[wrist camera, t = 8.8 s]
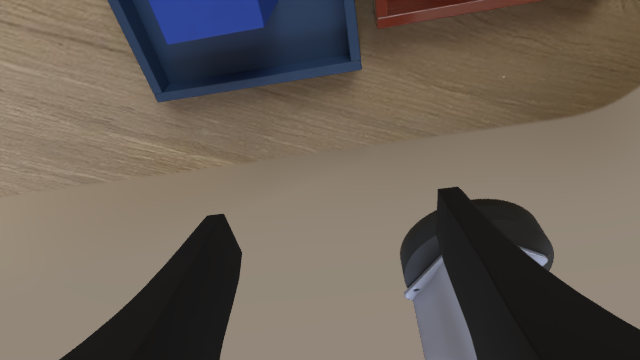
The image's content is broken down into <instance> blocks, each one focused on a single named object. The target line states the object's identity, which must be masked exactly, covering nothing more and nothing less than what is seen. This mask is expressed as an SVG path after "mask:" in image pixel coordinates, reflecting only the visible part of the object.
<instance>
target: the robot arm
mask: <svg viewBox="0 0 640 360" xmlns="http://www.w3.org/2000/svg"><path fill="white" fill-rule="evenodd" d="M436 234H437V238H438V242H439V246H440V251H441V255H440V256H439V257H438V258H437V259H436V260H435V261H434V262H433V263H432V264H431V265H430V266H429V267H428V268H427V269H426V270H425V271H424V272H423V273H422V274H421V276H420V277H419V278H418V279H417V280H416V281H415V282H414V283H413V284H412V285H411V286H410V287H409V288H408V289H407V290H406V291H405V292H404V296H405V298H407V299H410V300H413V302H414V308H415V313H416V317H417V322H418V327H419V332H420V337H421V342H422V347H423V352H424V357H425V360H640V330H639V329H638V328H636V327H634V326H632V325H631V324H629V323H627V322H625V321H623V320H622V319H620V318H618V317H617V316H615V315H613V314H612V313H610V312H609V311H607V310H605V309H604V308H602V307H601V306H599V305H598V304H596V303H594V302H593V301H591V300H590V299H588V298H586V297H585V296H583V295H582V294H580V293H578V292H577V291H576V290H574V289H573V288H571V287H570V286H569V285H567V284H566V283H564V282H563V281H561V280H560V279H559V278H557V277H556V276H555V275H553V274H552V273H551V272H549V271H548V270H547V269H545V268H544V267H543V265H545V264H546V263H547V262H548V259H547V257H546V256H545V255H543V254H540V253H537V252H534V251H531V250H529V249H526V248H523V247H520V246H517V245H516V244H515V243H514V242H513V241H512V240H510V239H509V238H508V237H507V236H506V235H505V234H504V233H503V232H502V231H501V230H500V229H499V228H498V227H497V226H495V225H494V224H493V223H492V222H491V221H490V220H489V219H488V218H487V217H486V216H485V215H484V214H483V213H482V212H481V211H480V210H479V209H478V207H477V206H476V205H475V204H474V203H473V202H472V201H471V200H470V199H469V198H468V197H467V196H466V194H465V193H464V192H463V191H462V190H461V189H460V188H459V187H452V188H443V189H438V201H437V230H436ZM241 257H242V252H241V249H240V247H239V245H238V243H237V241H236V239H235V237H234V235H233V232H232V230H231V228H230V226H229V224H228V222H227V220H226V218H225V215H224V214H218V215H210V216H207V217H206V218H205V219H204V220H203V221H202V222H201V223H200V224H199V226H198V227H197V228H196V229H195V231H194V232H193V233H192V234H191V235H190V236H189V238H188V239H187V240H186V241H185V242H184V244H183V245H182V246H181V247H180V248H179V249H178V251H177V252H176V253H175V254H174V255H173V256H172V258H171V259H170V260H169V261H168V262H167V263H166V264H165V265H164V267H163V268H162V269H161V270H160V271H159V272H158V273H157V274H156V275H155V276H154V277H153V278H152V279H151V280H150V282H149V283H148V284H147V285H146V286H145V287H144V288H143V289H142V290H141V291H140V292H139V293H138V294H137V295H136V296H135V297H134V298H133V299H132V300H131V301H130V302H129V303H128V304H126V305H125V306H124V307H123V309H121V310H120V311H119V312H118V313H117V314H116V315H114V316H113V317H112V318H111V319H110V320H109V321H108V322H106V323H105V324H104V325H103V326H101V327H100V328H99V329H98V330H97V331H95V332H94V333H93V334H92V335H91V336H89V337H88V338H87V339H86V340H85V341H83V342H82V343H81V344H79V345H78V346H77V347H76V348H75V349H73V350H72V351H71V352H69V353H68V354H66V355H65V356H64V357H62V358H61V359H60V360H219V359H220V353H221V349H222V344H223V340H224V336H225V332H226V328H227V324H228V321H229V316H230V313H231V309H232V305H233V301H234V297H235V293H236V289H237V285H238V281H239V275H240V267H241Z"/></svg>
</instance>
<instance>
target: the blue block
mask: <svg viewBox="0 0 640 360" xmlns="http://www.w3.org/2000/svg"><path fill="white" fill-rule="evenodd" d="M148 1H149V3H150V6H151V8H152V10H153V13H154V15H155V17H156V20H157V22H158V24H159V26H160V29H161V31H162V33H163V36H164V38H165V40H166V43H167V44H169V45H170V44H175V43H181V42H186V41H192V40H197V39H203V38H208V37H214V36H219V35H225V34H230V33H236V32H241V31H247V30H252V29H258V28H263V27H265V25H266V23H267V21H268V19H269V17H270V15H271V13H272V11H273V9H274V7H275V5H276V4H277V2H278V0H148Z"/></svg>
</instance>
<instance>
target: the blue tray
mask: <svg viewBox="0 0 640 360" xmlns="http://www.w3.org/2000/svg"><path fill="white" fill-rule="evenodd" d="M108 2H109V4H110V6H111V8H112V10H113V12H114V14H115V16H116V18H117V20H118V22H119V24H120V26H121V29H122V31H123V33H124V35H125V37H126V39H127V41H128V43H129V45H130V47H131V49H132V51H133V53H134V55H135V57H136V59H137V61H138V63H139V65H140V67H141V69H142V71H143V73H144V75H145V77H146V79H147V81H148V83H149V85H150V87H151V89H152V91H153V93H154V95H155V97H156V99H157V101H158V102H164V101H170V100H176V99H182V98H188V97H195V96H201V95H207V94H213V93H220V92H226V91H232V90H238V89H245V88H251V87H257V86H263V85H269V84H276V83H282V82H288V81H294V80H301V79H307V78H313V77H319V76H326V75H332V74H338V73H344V72H350V71H357V70H361V69H362V65H361V56H360V47H359V37H358V28H357V18H356V9H355V0H278V2H277V4H276V5H275V7H274V9H273V11H272V13H271V15H270V17H269V19H268V21H267V23H266V25H265V27H263V28H258V29H252V30H247V31H241V32H236V33H230V34H225V35H219V36H214V37H208V38H203V39H197V40H192V41H186V42H181V43H175V44H170V45H169V44H167V43H166V40H165V38H164V36H163V33H162V31H161V29H160V26H159V24H158V22H157V20H156V17H155V15H154V13H153V10H152V8H151V6H150V3H149V1H148V0H108Z"/></svg>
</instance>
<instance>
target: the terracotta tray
mask: <svg viewBox="0 0 640 360" xmlns="http://www.w3.org/2000/svg"><path fill="white" fill-rule="evenodd" d="M537 1H543V0H373V10H374V20H375V23H376V26H377V28H378V29H382V28H387V27H393V26H399V25H405V24H410V23H416V22H422V21H428V20H433V19H439V18H445V17H451V16H456V15H462V14H468V13H474V12H479V11H485V10H491V9H497V8H502V7H508V6H514V5H520V4H525V3H531V2H537Z"/></svg>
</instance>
